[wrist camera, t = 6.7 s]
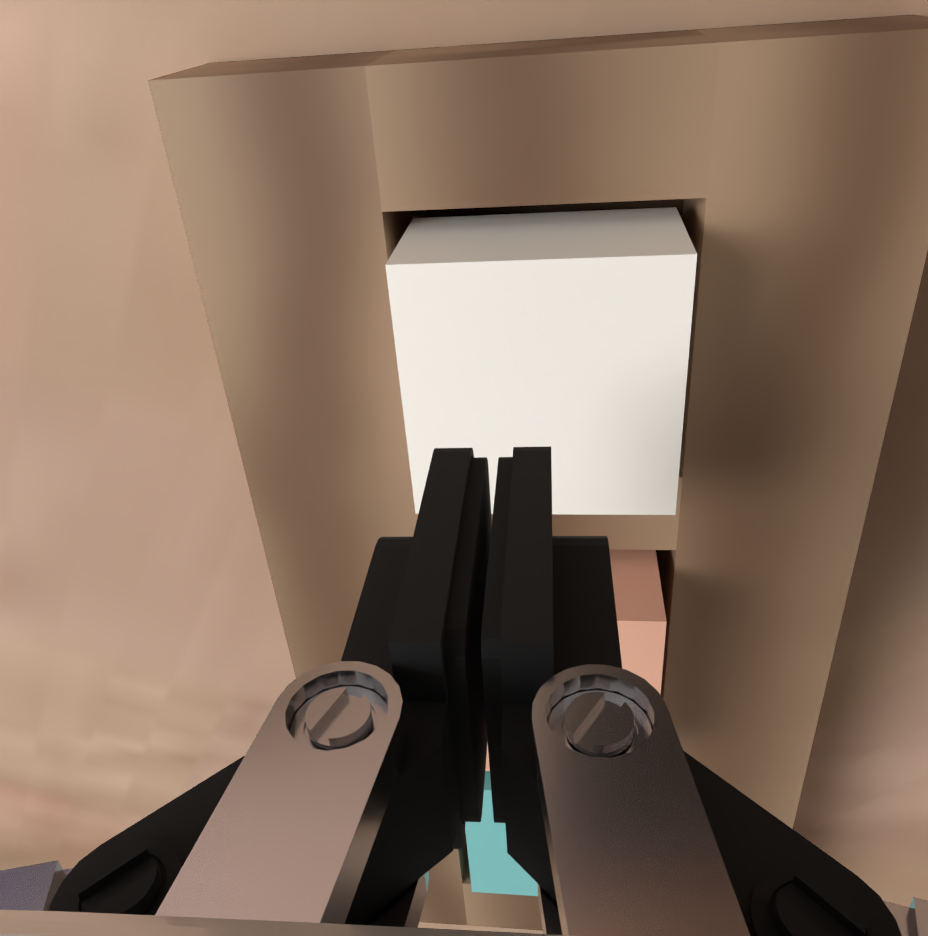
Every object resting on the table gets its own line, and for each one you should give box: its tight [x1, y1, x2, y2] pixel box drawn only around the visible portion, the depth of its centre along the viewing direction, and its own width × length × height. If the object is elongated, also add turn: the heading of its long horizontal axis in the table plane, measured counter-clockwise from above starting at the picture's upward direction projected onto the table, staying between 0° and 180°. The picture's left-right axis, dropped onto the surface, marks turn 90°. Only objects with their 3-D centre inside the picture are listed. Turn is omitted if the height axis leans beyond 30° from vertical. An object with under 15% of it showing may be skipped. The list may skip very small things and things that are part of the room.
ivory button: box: [385, 207, 697, 515], centre depth 16 cm, size 5×5×3 cm
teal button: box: [465, 771, 538, 896], centre depth 26 cm, size 5×5×3 cm
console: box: [148, 15, 928, 931], centre depth 22 cm, size 14×27×3 cm, turn 4°
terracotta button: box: [485, 549, 667, 771], centre depth 20 cm, size 5×5×3 cm
